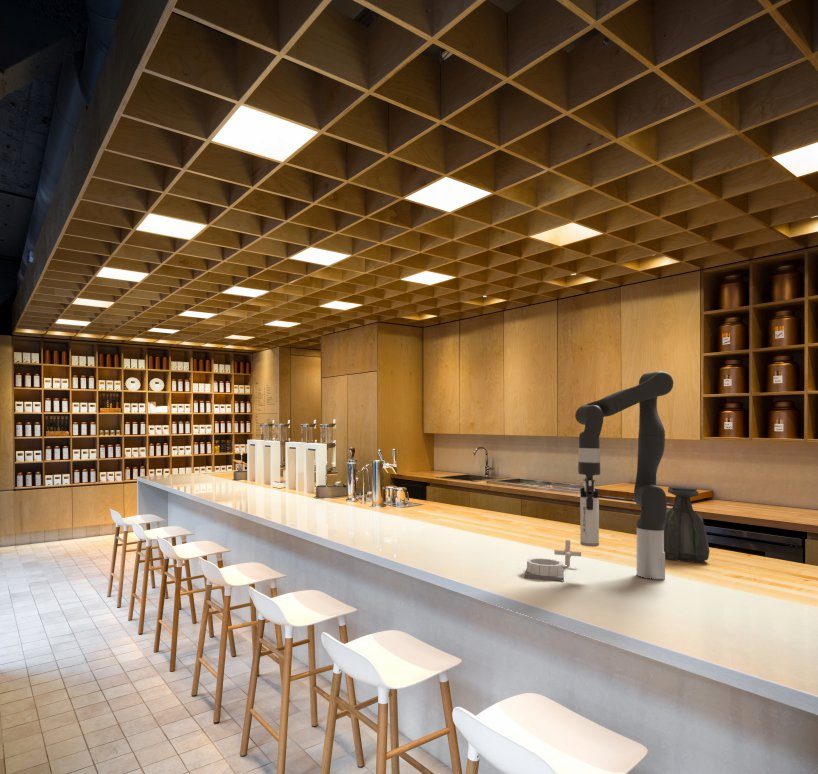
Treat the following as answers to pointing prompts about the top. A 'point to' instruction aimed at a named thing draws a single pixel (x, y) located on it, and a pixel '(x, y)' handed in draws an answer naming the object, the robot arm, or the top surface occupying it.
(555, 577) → the duct collar
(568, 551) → the pipe connector
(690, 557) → the dark grey ribbed vase
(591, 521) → the travel mug
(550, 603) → the top surface
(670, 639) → the top surface
